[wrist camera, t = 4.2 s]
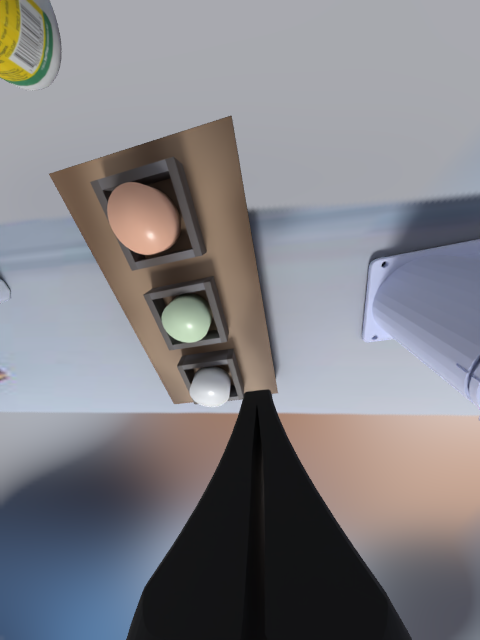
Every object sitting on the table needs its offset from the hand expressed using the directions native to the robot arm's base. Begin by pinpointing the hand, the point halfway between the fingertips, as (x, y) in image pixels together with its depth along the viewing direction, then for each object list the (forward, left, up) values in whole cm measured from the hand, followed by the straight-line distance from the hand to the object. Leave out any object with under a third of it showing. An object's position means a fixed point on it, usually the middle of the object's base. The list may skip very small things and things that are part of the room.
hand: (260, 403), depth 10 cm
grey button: (+5, +4, -6) cm, 9 cm away
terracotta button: (+5, -10, -6) cm, 13 cm away
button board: (+5, -3, -9) cm, 11 cm away
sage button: (+5, -3, -7) cm, 9 cm away
